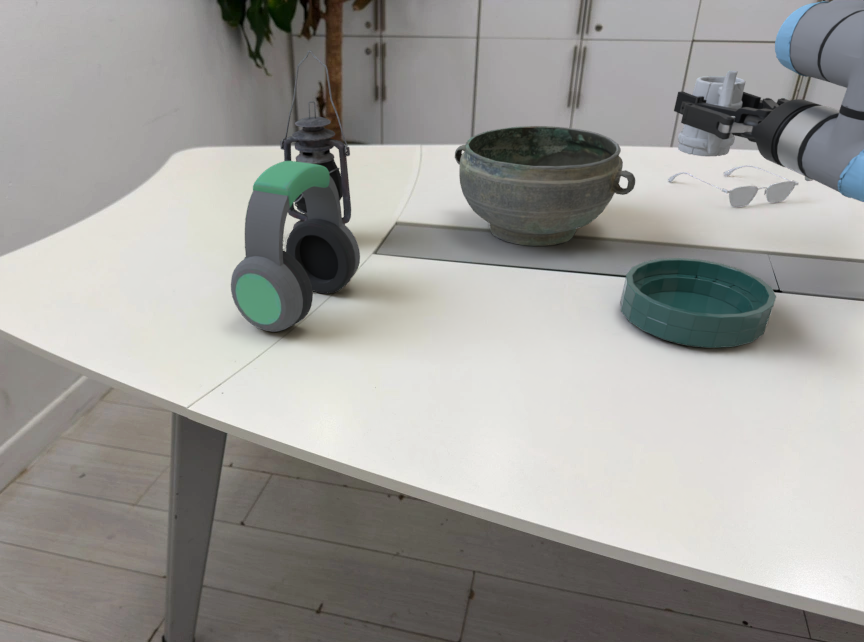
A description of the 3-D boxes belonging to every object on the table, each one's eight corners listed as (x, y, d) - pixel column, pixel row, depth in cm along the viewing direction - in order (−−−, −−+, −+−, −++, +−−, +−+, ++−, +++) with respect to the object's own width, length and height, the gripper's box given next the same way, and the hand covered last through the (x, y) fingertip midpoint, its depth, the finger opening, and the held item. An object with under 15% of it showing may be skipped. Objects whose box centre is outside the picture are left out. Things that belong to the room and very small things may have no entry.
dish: (771, 308, 92) (783, 274, 89) (752, 367, 80) (765, 330, 77) (638, 280, 100) (645, 248, 97) (602, 330, 88) (609, 295, 85)
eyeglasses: (722, 209, 124) (728, 188, 122) (663, 181, 138) (667, 161, 136) (794, 201, 126) (801, 179, 124) (728, 174, 141) (733, 154, 139)
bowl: (412, 233, 118) (414, 145, 110) (488, 194, 135) (495, 115, 126) (586, 279, 101) (605, 180, 92) (650, 228, 117) (670, 139, 109)
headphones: (296, 346, 87) (284, 193, 76) (229, 327, 91) (208, 180, 80) (366, 288, 100) (364, 151, 89) (304, 274, 105) (295, 143, 94)
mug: (726, 144, 104) (749, 59, 97) (741, 166, 94) (768, 73, 87) (672, 142, 105) (692, 58, 99) (682, 163, 96) (704, 72, 89)
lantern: (273, 248, 114) (254, 54, 98) (303, 227, 122) (290, 44, 105) (338, 259, 110) (330, 57, 93) (365, 236, 118) (362, 46, 101)
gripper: (716, 173, 83) (633, 129, 102) (871, 164, 84) (760, 122, 103) (734, 109, 78) (644, 75, 97) (896, 100, 80) (776, 69, 99)
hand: (704, 100), depth 100 cm, fingers closed on mug, 7 cm apart
